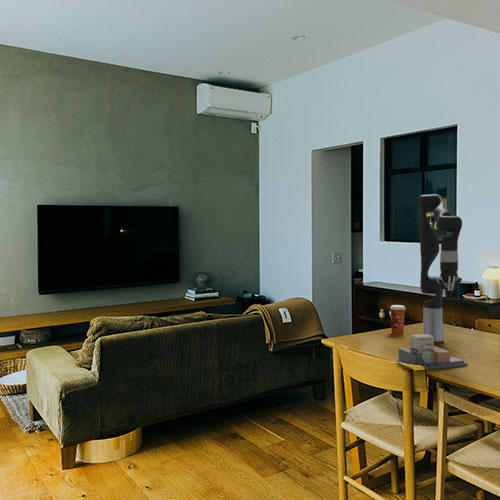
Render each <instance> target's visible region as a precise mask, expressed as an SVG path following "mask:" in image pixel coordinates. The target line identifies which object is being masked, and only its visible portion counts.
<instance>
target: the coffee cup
mask: <svg viewBox="0 0 500 500" xmlns="http://www.w3.org/2000/svg"><path fill="white" fill-rule="evenodd" d="M389 309H390V319H391V320H390V321H391V333H392V334H396V335H401V334H404V331H405V330H404V328H405V313H406V307H405V305H401V304H392V305H391V306H390V308H389Z"/></svg>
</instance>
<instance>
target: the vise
mask: <svg viewBox="0 0 500 500" xmlns="http://www.w3.org/2000/svg"><path fill="white" fill-rule="evenodd" d="M395 361H397V362H402V363H407V364H413V365H421V366H425V368H426V370H425V371H431V370H430V369H432V370H438V369H448V368H457V367H464V366H468V365H469V362H468V361H465V360H463V359H462V360H461V359H459V358H456V357H453V356H451V355H450V362H441V363H434V362H433V363H428V364H422V354H419V353H416V352H414V351H411V350H410V348H406V347H403V348H402V347H401V348H398V359H396V360H395Z"/></svg>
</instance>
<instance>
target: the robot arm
mask: <svg viewBox="0 0 500 500" xmlns="http://www.w3.org/2000/svg"><path fill="white" fill-rule="evenodd" d="M417 202H418V203H417V205H418V214H419V215H418V216H419V217H418V218H419V229H420V231H419V233H420V234H419V235H420V236H419V242H420V243H419V245H420V247H419V249H420V285H419V286H420V291H421V293H422V294H423V295H424V294H425V295H426V294H427V295H435V296H434V297H433V298H432V299H428V300H424V302H423V303H422V304H423V306H422V307H423V309H422V310H423V313H422V314H423V316H422V317H423V319H422V321H423V322H422V327H423V328H422V334H429V335H431V336H434V343H440V342H443V341H444V339H445V336H444V335H445V331H444V328H445V323H444V321H443V299H444V298H445V299H446V300H452V299H453V291H454V290H457V288H458V287H459V285H460V284H461V282H462V280H463V278H461V277H459V274H458V271H459V252H458V249H459V248H458V245H459V244H458V243H459V237H460V233H461V231H462V227H463V220H462V218H461V217H460V216H457V215H452V213H451V212H450V211H449V210H448V208H447V207H446V203H445V202H444V200H443V198H442V196H441V195H439V194H436V193H434V194H422V195H421V194H420V196H419V198H418V201H417ZM432 213H433V214H432ZM427 214H432V215H433V216H432V217H433V219H434V220H435V221H436V228H437V230H438V231H439V232H441V233H451V234H450V235H449V236H446V237H442V238H441V240H440V237H439V235H438V234H437V232H436V231H435V229H434V228H433V227H432V226H431V224H430V222H429V219H428V217H427V216H428V215H427ZM439 252H440V254H439ZM438 255H440V256H439V260H440V261H439V270H440V274H439V276H436V275H435V276H433V275H432V276H431V275H429V270H430V268H431V266H432V264H433V262H434V261H435V260H436V258H437V257H438ZM443 296H444V298H443Z"/></svg>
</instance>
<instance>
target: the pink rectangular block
mask: <svg viewBox="0 0 500 500" xmlns="http://www.w3.org/2000/svg"><path fill="white" fill-rule="evenodd" d="M450 356H451V351H450V350H447V349H444V348H441V347H439V346H434V350H433V362H434V363H441V362H450Z"/></svg>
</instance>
